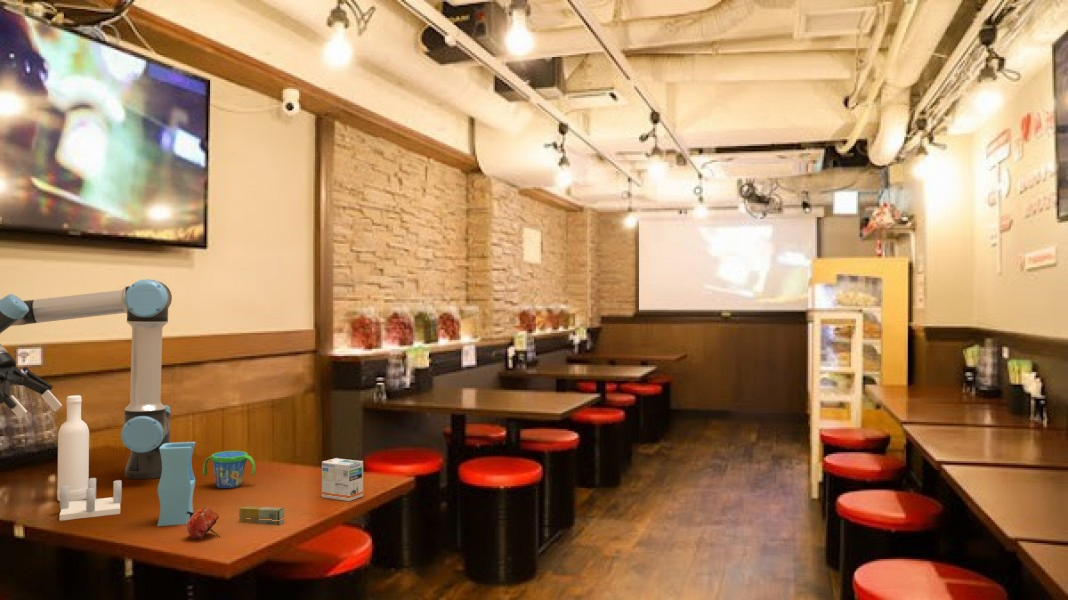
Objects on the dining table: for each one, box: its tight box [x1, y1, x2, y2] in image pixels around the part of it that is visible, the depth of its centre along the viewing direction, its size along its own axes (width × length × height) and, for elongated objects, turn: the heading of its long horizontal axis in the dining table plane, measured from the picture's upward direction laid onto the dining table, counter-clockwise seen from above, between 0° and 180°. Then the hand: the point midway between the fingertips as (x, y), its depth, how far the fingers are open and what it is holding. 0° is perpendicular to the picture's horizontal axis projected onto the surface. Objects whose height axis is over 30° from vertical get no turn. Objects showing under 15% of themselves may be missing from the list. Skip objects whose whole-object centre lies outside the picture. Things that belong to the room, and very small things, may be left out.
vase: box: [157, 441, 196, 527], centre depth 198 cm, size 8×8×20 cm
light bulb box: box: [321, 457, 364, 502], centre depth 223 cm, size 11×7×11 cm, turn 65°
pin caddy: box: [59, 477, 123, 522], centre depth 207 cm, size 15×15×8 cm
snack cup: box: [202, 450, 256, 489], centre depth 235 cm, size 16×10×10 cm
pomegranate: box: [185, 507, 221, 540], centre depth 185 cm, size 7×7×10 cm
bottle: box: [56, 394, 90, 502], centre depth 219 cm, size 8×8×30 cm
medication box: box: [238, 505, 285, 526], centre depth 197 cm, size 12×3×4 cm, turn 78°
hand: (41, 411), depth 220 cm, fingers open, 13 cm apart
